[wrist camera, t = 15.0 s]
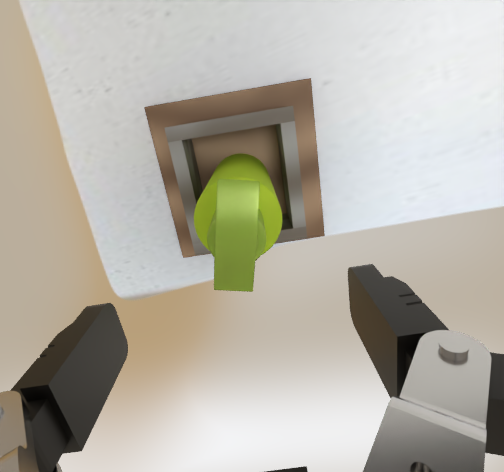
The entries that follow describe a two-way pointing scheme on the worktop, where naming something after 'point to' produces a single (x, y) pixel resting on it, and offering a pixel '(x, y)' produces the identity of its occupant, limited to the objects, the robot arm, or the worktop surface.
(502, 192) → the worktop surface
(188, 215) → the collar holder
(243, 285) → the soap dispenser
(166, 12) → the worktop surface
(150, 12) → the worktop surface
